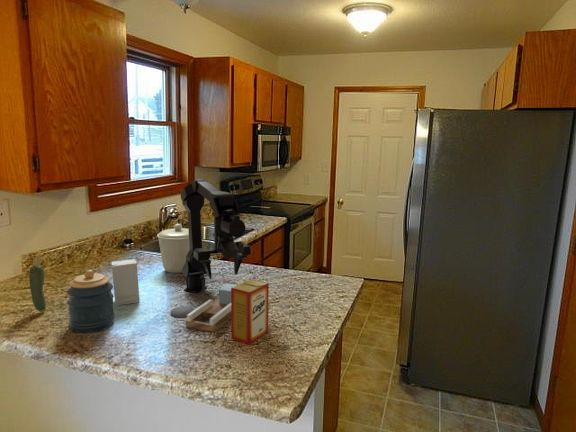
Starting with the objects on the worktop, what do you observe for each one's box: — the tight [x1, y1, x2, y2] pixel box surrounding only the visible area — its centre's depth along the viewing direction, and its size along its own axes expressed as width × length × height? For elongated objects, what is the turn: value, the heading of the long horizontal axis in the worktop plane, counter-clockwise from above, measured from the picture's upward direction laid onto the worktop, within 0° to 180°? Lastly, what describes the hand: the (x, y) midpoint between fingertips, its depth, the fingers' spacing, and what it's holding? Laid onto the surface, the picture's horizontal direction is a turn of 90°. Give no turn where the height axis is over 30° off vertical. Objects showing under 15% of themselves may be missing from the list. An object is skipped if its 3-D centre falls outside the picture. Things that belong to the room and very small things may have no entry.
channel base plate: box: [185, 297, 231, 333], centre depth 140 cm, size 10×25×2 cm, turn 161°
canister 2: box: [156, 223, 190, 274], centre depth 185 cm, size 18×18×21 cm
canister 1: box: [66, 269, 116, 333], centre depth 129 cm, size 13×13×18 cm
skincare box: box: [111, 258, 141, 307], centre depth 148 cm, size 8×6×15 cm
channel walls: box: [186, 298, 231, 326], centre depth 135 cm, size 9×14×2 cm, turn 161°
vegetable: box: [28, 253, 47, 313], centre depth 137 cm, size 4×4×20 cm
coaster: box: [170, 306, 196, 319], centre depth 141 cm, size 8×8×1 cm
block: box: [218, 283, 238, 305], centre depth 146 cm, size 5×6×5 cm
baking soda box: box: [230, 278, 270, 345], centre depth 124 cm, size 10×6×16 cm
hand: (223, 276), depth 141 cm, fingers open, 9 cm apart
